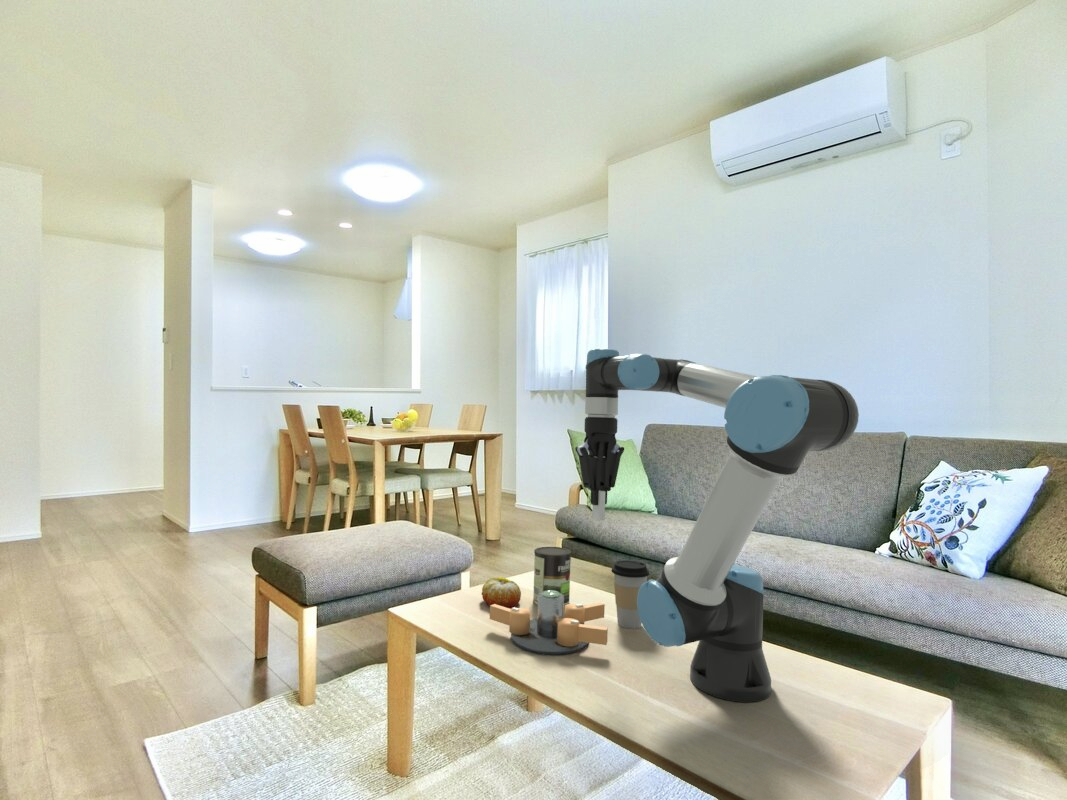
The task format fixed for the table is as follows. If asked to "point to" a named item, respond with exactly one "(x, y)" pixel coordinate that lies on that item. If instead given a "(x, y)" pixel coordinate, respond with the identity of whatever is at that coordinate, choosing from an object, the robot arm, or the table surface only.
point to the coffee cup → (628, 590)
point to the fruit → (501, 592)
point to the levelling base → (543, 643)
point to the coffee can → (552, 571)
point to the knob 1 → (512, 618)
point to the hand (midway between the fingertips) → (598, 519)
